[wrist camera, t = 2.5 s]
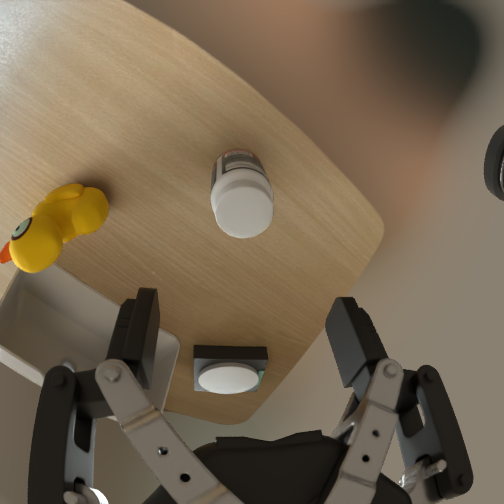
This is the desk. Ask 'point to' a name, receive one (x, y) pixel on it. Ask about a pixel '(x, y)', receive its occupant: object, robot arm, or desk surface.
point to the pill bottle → (241, 194)
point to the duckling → (55, 226)
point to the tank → (68, 329)
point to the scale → (228, 368)
